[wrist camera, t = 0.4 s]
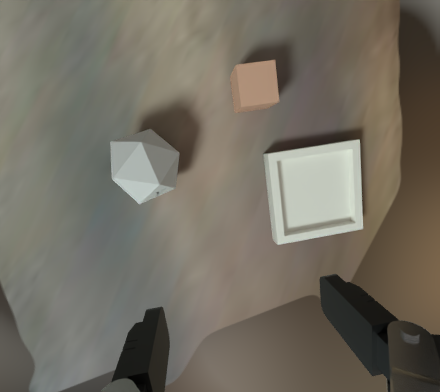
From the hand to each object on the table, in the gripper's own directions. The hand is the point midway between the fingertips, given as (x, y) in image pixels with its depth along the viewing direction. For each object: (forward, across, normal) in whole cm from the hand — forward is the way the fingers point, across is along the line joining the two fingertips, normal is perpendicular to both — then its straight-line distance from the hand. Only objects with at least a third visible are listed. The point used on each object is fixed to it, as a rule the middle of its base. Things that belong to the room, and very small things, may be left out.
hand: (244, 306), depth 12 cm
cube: (+27, -8, -14) cm, 31 cm away
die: (+27, +8, -6) cm, 28 cm away
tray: (+26, -16, +2) cm, 31 cm away
